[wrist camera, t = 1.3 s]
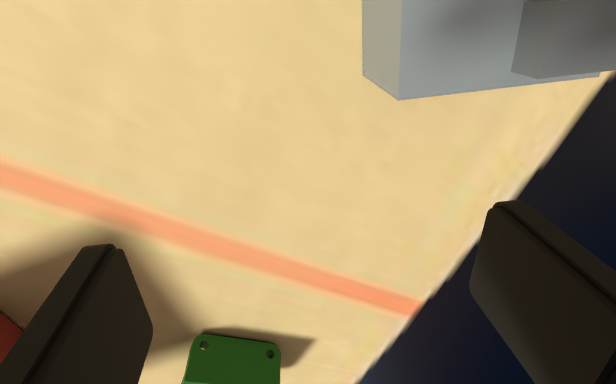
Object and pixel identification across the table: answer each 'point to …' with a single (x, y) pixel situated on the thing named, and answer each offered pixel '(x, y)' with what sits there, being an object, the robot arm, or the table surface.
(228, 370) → the clamp
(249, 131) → the table surface
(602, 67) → the housing
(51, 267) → the table surface
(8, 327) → the plant pot
